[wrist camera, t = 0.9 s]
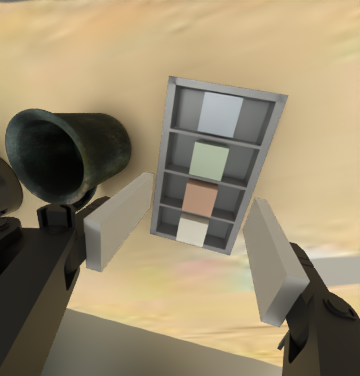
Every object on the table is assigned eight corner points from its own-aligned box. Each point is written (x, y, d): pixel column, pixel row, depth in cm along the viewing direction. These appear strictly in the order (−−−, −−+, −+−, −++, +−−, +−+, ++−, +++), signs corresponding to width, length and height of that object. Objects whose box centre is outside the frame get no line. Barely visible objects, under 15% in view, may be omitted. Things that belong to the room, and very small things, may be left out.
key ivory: (178, 231, 32) (175, 240, 30) (183, 210, 30) (180, 217, 28) (203, 238, 32) (202, 247, 29) (209, 216, 30) (208, 224, 28)
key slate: (199, 129, 25) (197, 130, 23) (206, 93, 23) (205, 91, 21) (231, 135, 24) (232, 137, 22) (241, 99, 23) (243, 98, 21)
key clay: (184, 202, 30) (181, 210, 28) (189, 177, 28) (187, 183, 26) (211, 209, 29) (210, 217, 27) (218, 184, 27) (218, 190, 25)
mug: (138, 118, 29) (89, 122, 18) (129, 198, 35) (88, 237, 24) (76, 103, 30) (-6, 97, 19) (78, 183, 36) (16, 213, 25)
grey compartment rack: (156, 221, 36) (149, 233, 32) (176, 81, 26) (168, 75, 22) (228, 240, 34) (229, 255, 30) (277, 98, 24) (288, 95, 21)
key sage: (191, 169, 27) (188, 174, 25) (197, 139, 26) (195, 142, 23) (220, 175, 27) (220, 181, 25) (228, 145, 25) (229, 149, 23)
